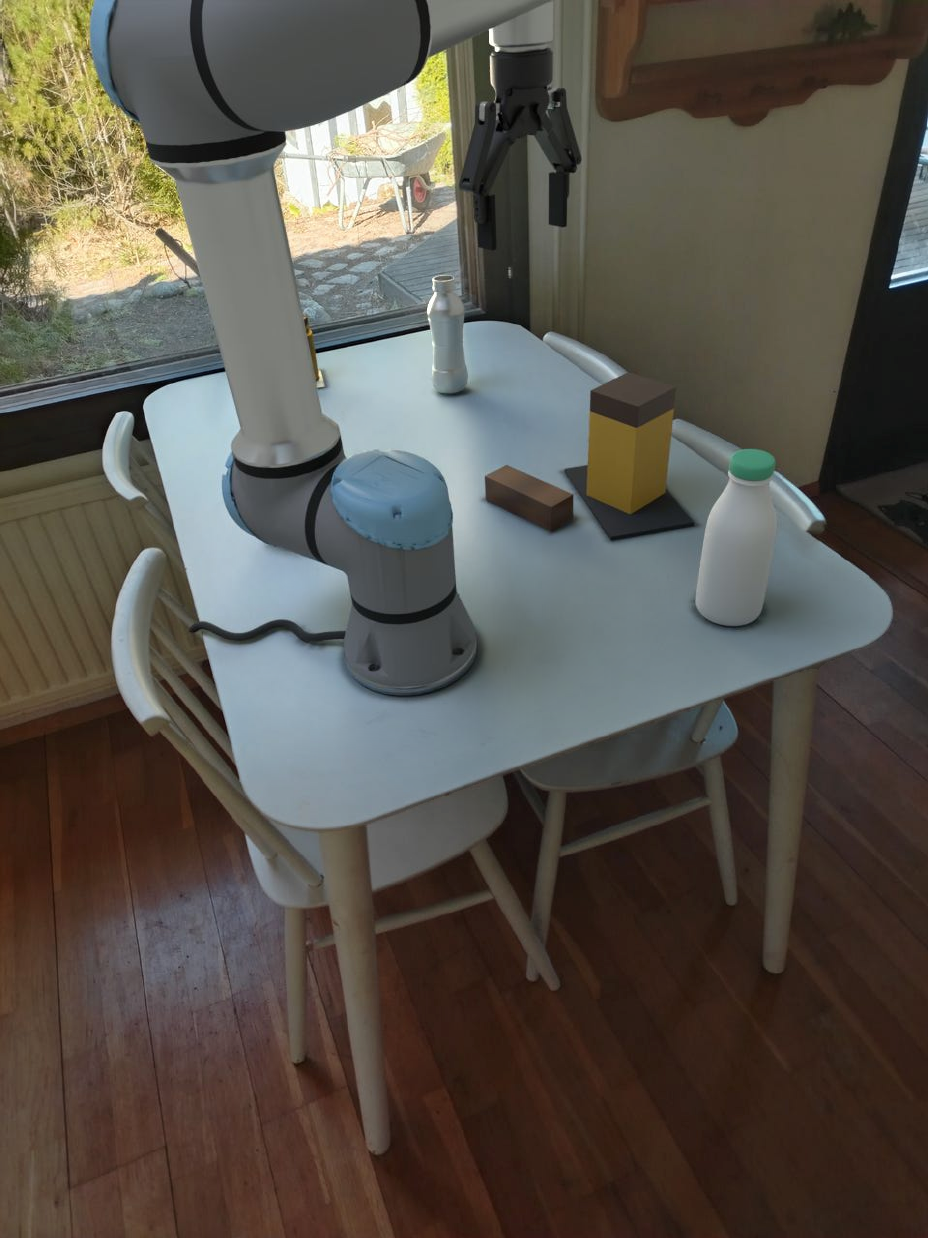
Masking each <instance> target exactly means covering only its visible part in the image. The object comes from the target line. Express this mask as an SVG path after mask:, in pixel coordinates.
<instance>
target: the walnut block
mask: <svg viewBox="0 0 928 1238" xmlns="http://www.w3.org/2000/svg"><path fill="white" fill-rule="evenodd" d="M484 489H485V492H484V493H485V501H487V502H488V503H491V504H493V505H495V506H497V507H499V508H500V509H503V510H505V511H507V512H510V513H512V514H513V515H515V516H517V517H520V518H522V519H523V520H525V521H527V522H530V523H532V524H534V525H536V526H538V527H540V528H542V529H544V530H546V531H548V532H550V533H552V532H554V531H555V530H557V529H559V528H561V527H563V526H564V525H566V524H567V523H570V522H572V521H573V520H574V498H575V497H574V493H571V492H569V491H567V490H565V489H563V488H560V487H558V486H556V485H553V484H551V483H549V482H547V481H544V480H542V479H540V478H538V477H535V476H533V475H531V474H529V473H526V472H524V471H522V470H520V469H517V468H515V467H512V466H510V465H509V464H505V465H504V466H501V467H499V468H497V469H496V470H493V471H491V472H490V473H487V474H485V475H484Z"/></svg>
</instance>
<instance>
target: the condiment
mask: <svg viewBox="0 0 928 1238" xmlns="http://www.w3.org/2000/svg"><path fill="white" fill-rule="evenodd" d="M303 318H304V323H305V328H306V333H307V339H308V344H309V349H310V354H311V359H312V364H313V369H314V374H315V379H316V384H317V389H319V388H324V387H325V383H324V379H323V375H322V370H321V369H319V364H318V360H317V352H316V347H315V341H314V333H313V330H311V328H310V323H309V318H308V316H307V315H306V314H305V313H304V314H303Z"/></svg>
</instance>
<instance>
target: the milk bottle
mask: <svg viewBox="0 0 928 1238" xmlns="http://www.w3.org/2000/svg"><path fill="white" fill-rule="evenodd" d="M728 465H729V466H728V470H727V471H728V472H727V476H728V477H729V480H728V482H727V484H726V486H725V488H724V490H723V492H722V493H721V495H720V496H719V497H718V499H717V500H716V502H715V503H714V504H713V506H712V508H711V510H710V512H709V514H708V517H707V521H706V525H705V530H704V535H703V541H702V548H701V555H700V564H699V567H698V568H699V569H698V574H697V575H698V576H697V583H696V592H695V600H694V603H695V607H696V609H697V611H698V613H699V614H700V615H701V616H702V617H703V618H705V620H708V621H709V622H712V623H713V624H714V623H715V624H717V625H721V626H727V627H739V626H745V625H748V624H750V623H752V622H754V621H755V620H756V619H757V618H758V617H759V616H760V615H761V613H762V610H763V606H764V602H765V598H766V593H767V588H768V583H769V577H770V572H771V568H772V562H773V556H774V552H775V546H776V541H777V540H776V539H777V532H778V516H777V512H776V509H775V505H774V502H773V500H772V496H771V490H770V483H771V482H772V480H773V479H774V473H775V469H776V459H775V457H774V455H772V454H771V453H770V452H768V451H765V450H762V449H756V448H743V449H739V450H736V451H735V452H733V453H732V455H731V456H730V457H729V463H728Z"/></svg>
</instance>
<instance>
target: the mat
mask: <svg viewBox="0 0 928 1238" xmlns="http://www.w3.org/2000/svg"><path fill="white" fill-rule="evenodd" d="M587 469H588V464H586V465H579V466H573V467H568V468H567V467H566V468H564V469H563V470H564V472H563V473H564V474H565V475H566V477H567V478H568V480H569V481H570V483H571V484H572V486H573V487H574V489H575V490H576V492H577V493H578V494H579V496H580V498H581V499H582V501H583V502H584V503H585V505H586V506H587V508H588V509H589V511H590V512H591V514H592V515H593V517H594V518H595V520H596V521H597V523H598V524H599V525H600V527H601V528H602V530H603V532H604V533H605V534H606V536H607V537H608V539H609V541H616V540H621V539H626V538H632V537H633V538H634V537H637V536H643V535H649V534H654V533H660V532H661V533H662V532H666V531H671V530H676V529H684V528H688V527H694V526H695V521H694V519H692V518H691V517H690V515H689V514H688V513H687V512H686V510H685V509H684V508H683V507H682V506H681V505H680V503H679V502H678V501H677V500H676V499H675V498H674V496H673V495H672V494H671V493H670V492H669V491H668V489H666V492H665V493H664V494H663V495H661V496H659V497H658V498H656V499H655V500H653V501H651V502H650V503H648V504H646V505H645V506H643V507H642V508H640V509H638V510H637V511H635V512H634V513H632V514H628V513H626V512H624V511H621V510H619V509H617V508H615V507H612V506H610V505H608V504H605V503H603V502H601V501H599V500H596V499H594V498H592V497H590V496H587Z"/></svg>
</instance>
